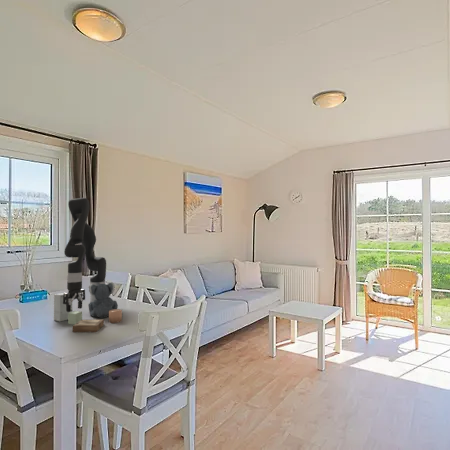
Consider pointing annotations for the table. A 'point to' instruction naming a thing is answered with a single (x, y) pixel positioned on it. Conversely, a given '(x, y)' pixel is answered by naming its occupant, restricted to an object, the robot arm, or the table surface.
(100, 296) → the koala plush
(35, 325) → the table surface
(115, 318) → the tan rounded block
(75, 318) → the sage block
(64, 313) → the skincare box
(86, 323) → the walnut base
